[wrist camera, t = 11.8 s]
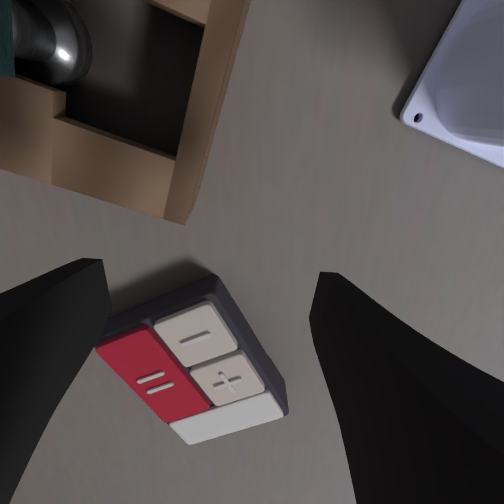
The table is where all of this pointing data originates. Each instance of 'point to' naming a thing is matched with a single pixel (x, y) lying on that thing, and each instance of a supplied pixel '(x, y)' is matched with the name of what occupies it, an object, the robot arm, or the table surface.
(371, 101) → the table surface
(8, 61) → the peg
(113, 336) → the calculator
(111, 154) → the keyhole plate
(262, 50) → the table surface
